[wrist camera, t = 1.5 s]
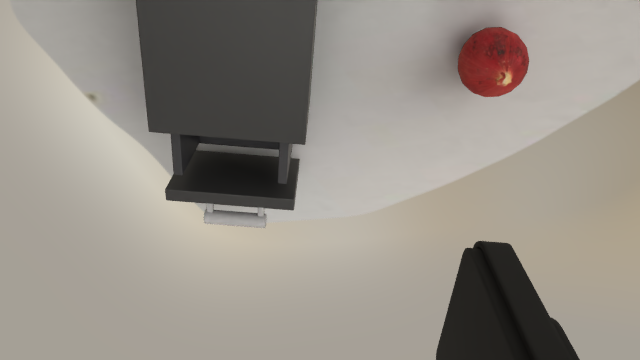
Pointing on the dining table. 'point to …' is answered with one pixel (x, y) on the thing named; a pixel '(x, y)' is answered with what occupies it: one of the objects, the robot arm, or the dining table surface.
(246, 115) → the dark grey box
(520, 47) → the onion
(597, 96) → the dining table surface
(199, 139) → the drawer
